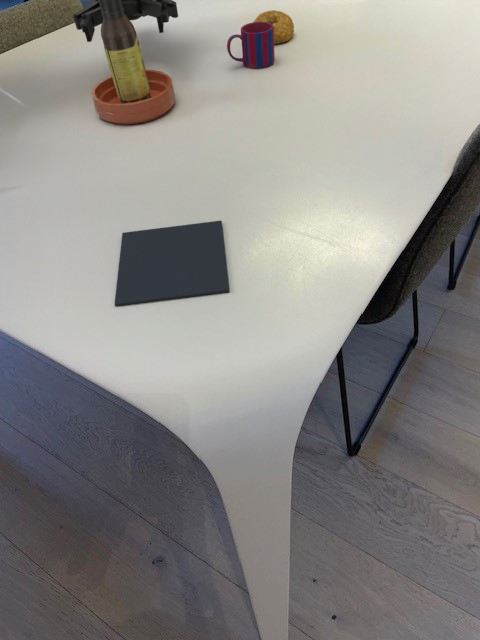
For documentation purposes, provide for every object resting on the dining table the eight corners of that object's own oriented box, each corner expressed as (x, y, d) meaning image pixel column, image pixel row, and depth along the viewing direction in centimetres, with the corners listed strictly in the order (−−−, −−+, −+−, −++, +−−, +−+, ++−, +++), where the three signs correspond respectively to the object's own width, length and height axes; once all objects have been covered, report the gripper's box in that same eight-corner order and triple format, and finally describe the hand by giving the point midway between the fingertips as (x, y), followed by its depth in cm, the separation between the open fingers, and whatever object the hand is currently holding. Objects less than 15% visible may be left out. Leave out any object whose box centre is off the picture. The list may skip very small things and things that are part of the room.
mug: (278, 65, 103) (277, 29, 98) (232, 74, 103) (229, 38, 97) (269, 54, 108) (268, 19, 103) (225, 62, 107) (221, 27, 102)
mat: (115, 306, 60) (114, 304, 60) (123, 234, 69) (122, 232, 69) (229, 292, 60) (229, 289, 59) (221, 222, 69) (221, 220, 69)
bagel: (239, 41, 114) (237, 18, 111) (273, 27, 119) (272, 4, 115) (268, 51, 109) (267, 27, 106) (303, 36, 113) (303, 12, 110)
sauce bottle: (158, 102, 95) (133, -19, 80) (133, 114, 92) (102, -8, 78) (138, 94, 98) (111, -24, 84) (113, 106, 96) (80, -14, 81)
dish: (94, 130, 91) (87, 109, 88) (102, 95, 101) (96, 75, 98) (175, 120, 91) (171, 98, 88) (175, 86, 101) (171, 65, 98)
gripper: (66, -18, 103) (49, 15, 88) (184, -33, 103) (186, -3, 89) (77, 22, 108) (63, 59, 94) (190, 8, 108) (193, 42, 94)
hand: (123, 29), depth 91 cm, fingers open, 13 cm apart
